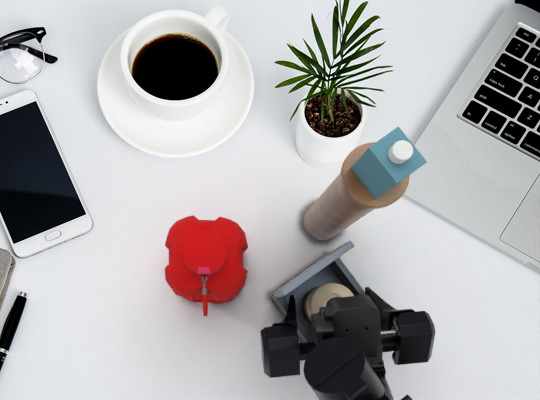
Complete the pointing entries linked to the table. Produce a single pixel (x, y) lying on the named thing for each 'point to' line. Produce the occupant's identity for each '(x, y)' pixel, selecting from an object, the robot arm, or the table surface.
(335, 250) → the lid
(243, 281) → the red rounded piece
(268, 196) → the table surface
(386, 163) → the teal milk carton
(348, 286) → the open box
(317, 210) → the tall beige cylinder
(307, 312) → the candle
